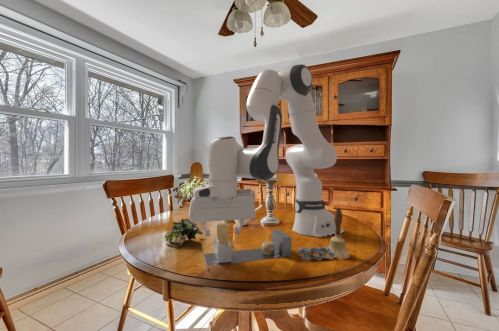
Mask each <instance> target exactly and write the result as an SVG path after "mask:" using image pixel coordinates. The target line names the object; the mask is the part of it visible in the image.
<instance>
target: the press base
mask: <svg viewBox="0 0 499 331" xmlns="http://www.w3.org/2000/svg"><path fill="white" fill-rule="evenodd" d="M292 239H293V238H292V236H290V235H289V234H288V233H286V232H285V231H284V230H282V229H272V230H271V242H273V243H274V244H275V253H274V254H273V255H264V254H262V247H261V248H252V249H242V250H232V262H224V263H218V262H217V259H216V257H215V254H214V252H211V253H204V256H203V257H204V263H205V265H206V269H207V272H210V269H209V267H210V266H211V267H212V266H220V265H229V264H236V263H237V264H238V263H244V262H245V263H246V262H252V261H263V260H272V259H273V260H274V259H279V258H281V259H283V258H290V257H291V258H292V243H293V242H292Z"/></svg>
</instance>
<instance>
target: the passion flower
mask: <svg viewBox="0 0 499 331" xmlns="http://www.w3.org/2000/svg"><path fill="white" fill-rule="evenodd" d="M172 224H173V225H172V228H171V231H170V232H169V231H167V232H166V234H165V235H164V238H165V241H166V242H168V243H171V241H172V240H173V239H174V243H175V244H177V240H178V239H179V241H180V244H179V248H180V247H181V246H182V244H183V242H184V241H185V240H186V239H188V241H192V239H193V240H196V239H197V238H196V235H197V234H198V235H204V232H203V231H201V230H200V228H199V226H197V225H198V224H197V223H196V222H194V223H192V222H191V221H190V220H189V217H187V218H185V217H184V218H181V220H178V221H172Z"/></svg>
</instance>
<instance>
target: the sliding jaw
mask: <svg viewBox="0 0 499 331" xmlns="http://www.w3.org/2000/svg"><path fill="white" fill-rule="evenodd" d="M232 247H233V244H232V243H231V241H230V240H229V224H228V223H227V222H226V223H225V222H224V223H217V224H216V237H214V238H213V253H214V254H215V257H216V259H217V262H218V263H224V262H232V251H233V250H232V249H233V248H232Z"/></svg>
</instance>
